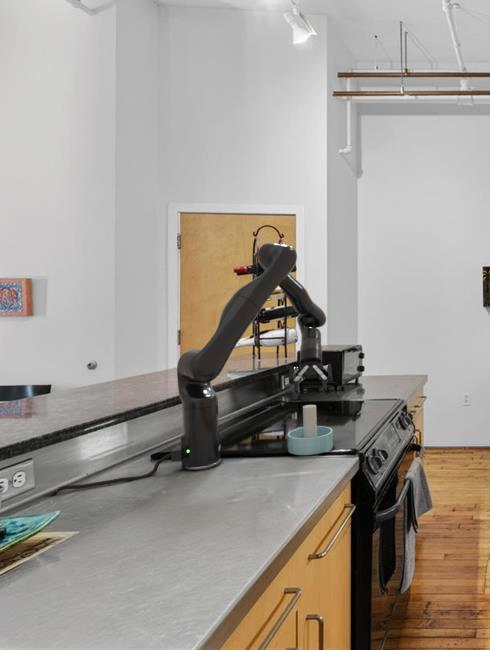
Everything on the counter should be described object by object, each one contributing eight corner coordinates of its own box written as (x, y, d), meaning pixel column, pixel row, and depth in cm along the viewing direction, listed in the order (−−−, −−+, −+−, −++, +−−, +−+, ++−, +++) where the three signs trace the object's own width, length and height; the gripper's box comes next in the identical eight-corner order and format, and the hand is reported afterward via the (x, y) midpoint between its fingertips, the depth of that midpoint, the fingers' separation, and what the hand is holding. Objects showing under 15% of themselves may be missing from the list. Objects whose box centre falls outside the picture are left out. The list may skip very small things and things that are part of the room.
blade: (292, 453, 141) (291, 410, 140) (295, 444, 149) (293, 404, 149) (327, 450, 143) (325, 408, 143) (327, 442, 151) (326, 402, 151)
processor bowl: (285, 458, 138) (285, 440, 138) (290, 444, 151) (289, 427, 151) (333, 454, 141) (332, 436, 141) (333, 441, 154) (332, 424, 154)
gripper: (289, 347, 163) (287, 386, 152) (331, 346, 166) (332, 384, 155) (291, 361, 168) (289, 399, 157) (331, 359, 171) (332, 396, 160)
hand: (310, 391), depth 156 cm, fingers open, 8 cm apart
